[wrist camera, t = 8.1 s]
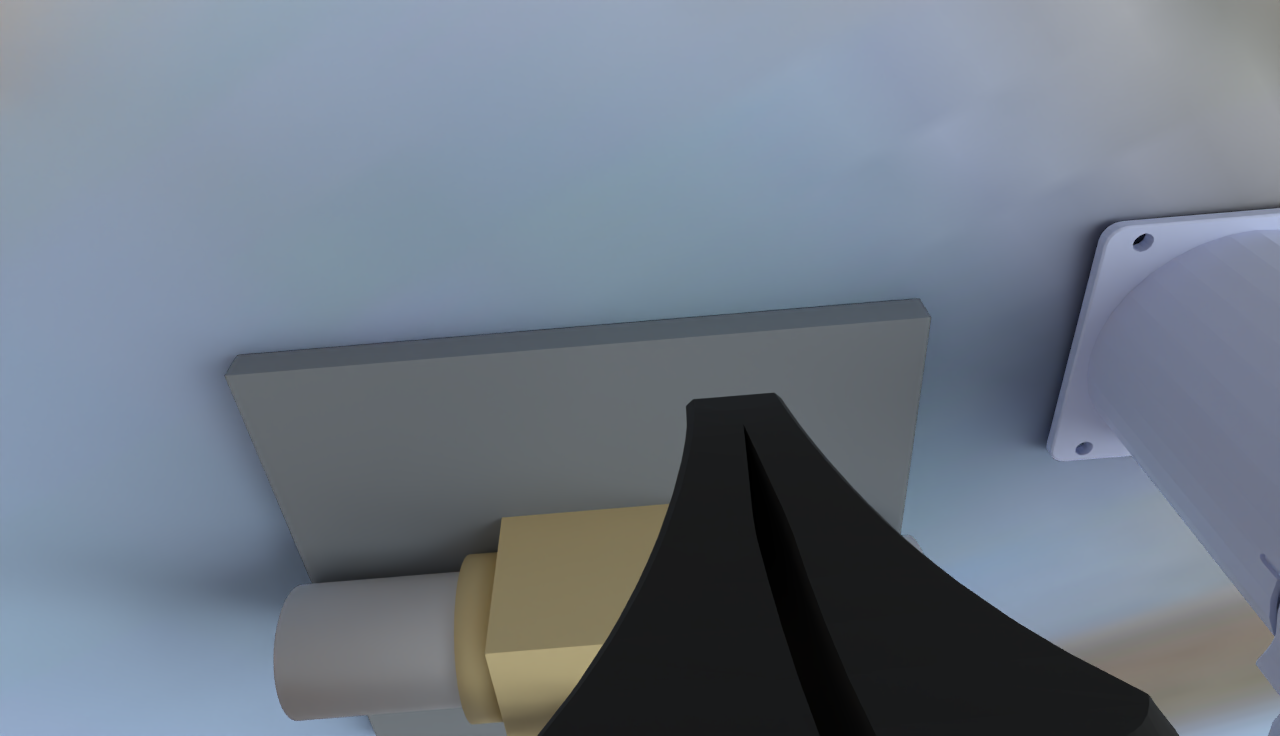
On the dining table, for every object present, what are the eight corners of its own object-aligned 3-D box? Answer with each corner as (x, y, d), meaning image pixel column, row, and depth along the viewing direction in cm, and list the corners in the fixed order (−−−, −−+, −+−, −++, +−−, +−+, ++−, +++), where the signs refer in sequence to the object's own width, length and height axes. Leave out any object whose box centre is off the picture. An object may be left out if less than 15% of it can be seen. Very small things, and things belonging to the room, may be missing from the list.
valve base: (919, 298, 24) (1022, 464, 18) (867, 693, 34) (923, 879, 28) (237, 355, 24) (123, 539, 18) (389, 731, 34) (347, 925, 28)
